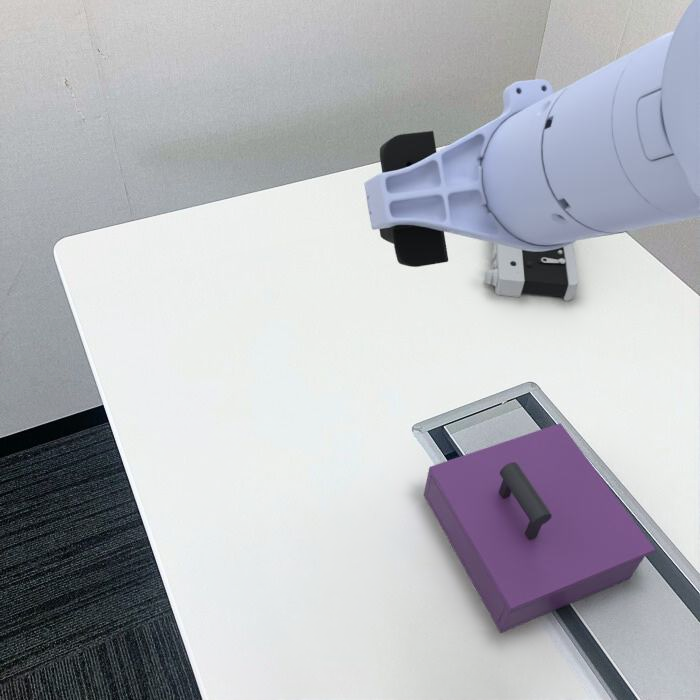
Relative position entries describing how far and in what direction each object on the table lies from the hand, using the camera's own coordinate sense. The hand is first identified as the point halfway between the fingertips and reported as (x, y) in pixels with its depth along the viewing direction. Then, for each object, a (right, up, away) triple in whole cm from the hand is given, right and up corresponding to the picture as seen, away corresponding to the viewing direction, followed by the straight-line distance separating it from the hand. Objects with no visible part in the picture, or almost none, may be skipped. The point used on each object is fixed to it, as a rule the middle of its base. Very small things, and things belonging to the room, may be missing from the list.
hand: (450, 209), depth 40 cm
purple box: (+9, -23, +23) cm, 34 cm away
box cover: (+10, -20, +21) cm, 31 cm away
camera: (+15, +4, +49) cm, 52 cm away
